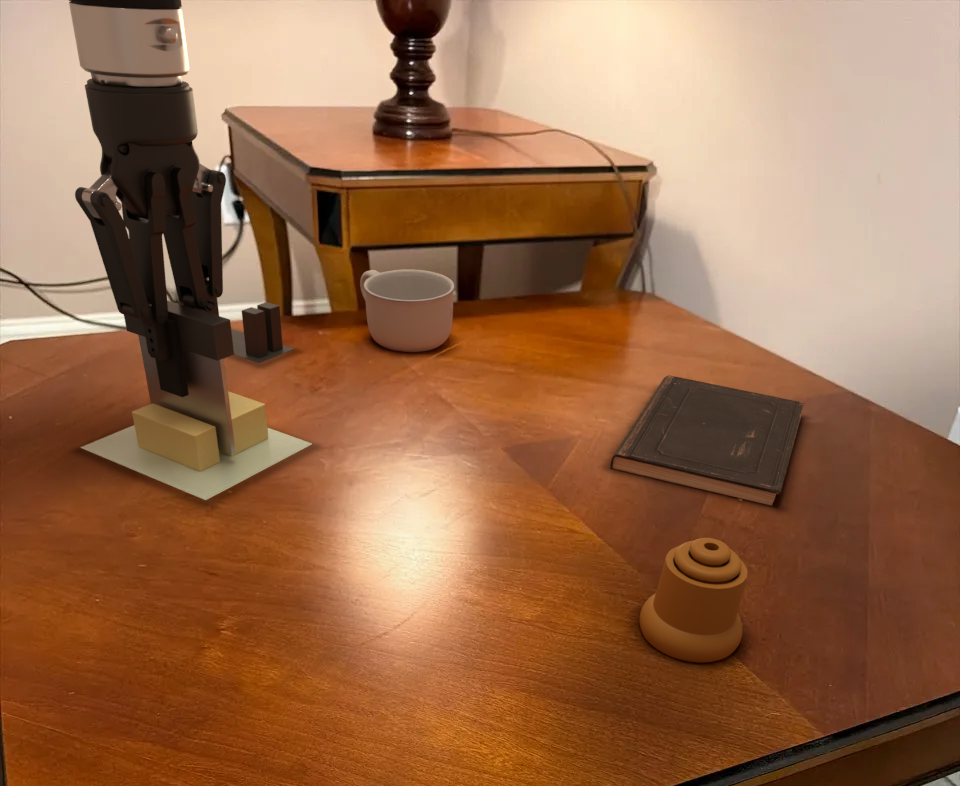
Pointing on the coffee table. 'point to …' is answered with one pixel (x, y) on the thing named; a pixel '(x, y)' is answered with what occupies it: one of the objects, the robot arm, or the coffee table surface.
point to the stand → (258, 333)
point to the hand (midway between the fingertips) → (186, 387)
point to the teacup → (408, 308)
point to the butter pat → (176, 437)
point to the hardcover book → (713, 439)
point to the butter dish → (192, 481)
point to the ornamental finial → (696, 603)
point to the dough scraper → (196, 369)
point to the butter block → (247, 422)
